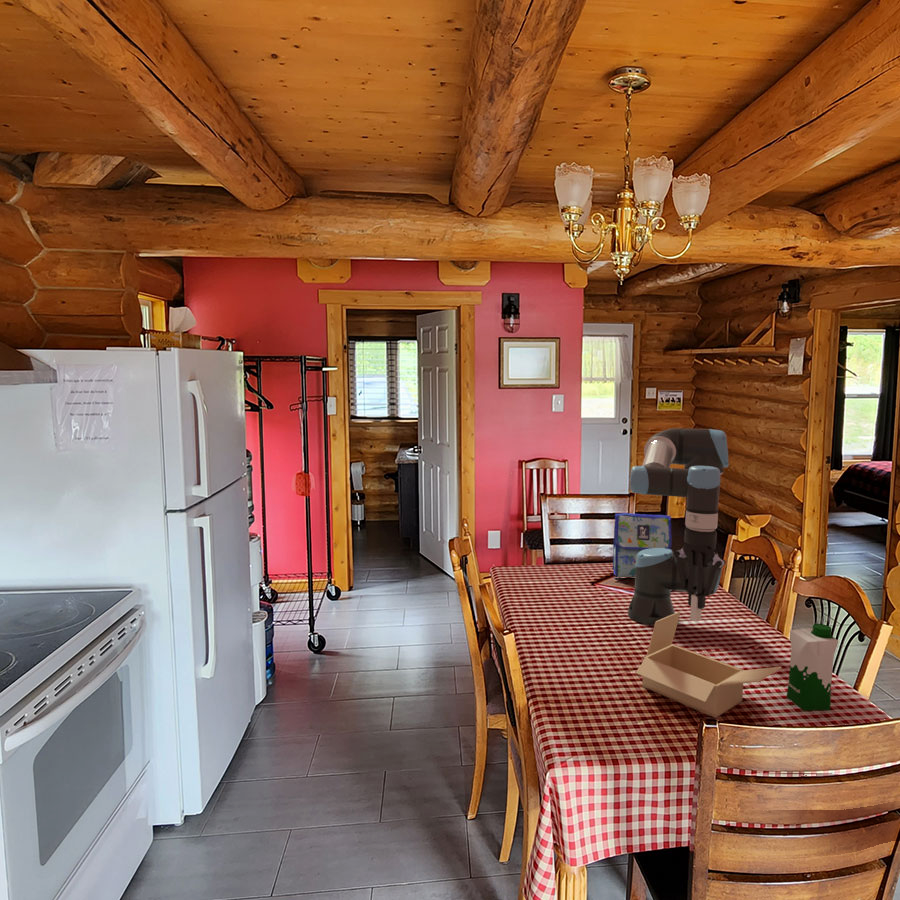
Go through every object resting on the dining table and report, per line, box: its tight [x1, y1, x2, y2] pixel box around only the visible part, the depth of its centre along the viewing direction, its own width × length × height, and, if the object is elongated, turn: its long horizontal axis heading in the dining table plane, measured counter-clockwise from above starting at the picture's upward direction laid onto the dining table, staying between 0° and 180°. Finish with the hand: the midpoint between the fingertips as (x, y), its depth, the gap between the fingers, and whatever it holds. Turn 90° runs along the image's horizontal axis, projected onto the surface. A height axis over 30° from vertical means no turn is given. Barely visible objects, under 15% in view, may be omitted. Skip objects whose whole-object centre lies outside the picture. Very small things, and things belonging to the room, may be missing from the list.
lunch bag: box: [612, 512, 673, 578], centre depth 263 cm, size 22×17×26 cm
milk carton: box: [786, 623, 839, 712], centre depth 162 cm, size 9×9×20 cm
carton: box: [635, 644, 744, 719], centre depth 167 cm, size 20×22×8 cm
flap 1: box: [646, 611, 681, 656], centre depth 172 cm, size 1×11×10 cm, turn 128°
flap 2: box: [720, 666, 783, 685], centre depth 155 cm, size 1×11×10 cm
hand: (695, 619), depth 165 cm, fingers closed
